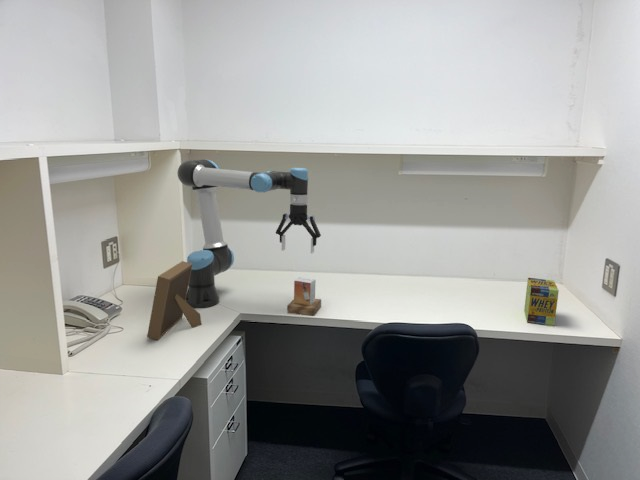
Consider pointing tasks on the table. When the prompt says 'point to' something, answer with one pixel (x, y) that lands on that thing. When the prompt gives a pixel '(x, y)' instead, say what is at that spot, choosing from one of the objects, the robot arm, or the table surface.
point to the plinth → (304, 308)
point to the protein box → (541, 301)
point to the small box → (304, 291)
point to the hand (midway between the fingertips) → (297, 251)
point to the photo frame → (172, 301)
